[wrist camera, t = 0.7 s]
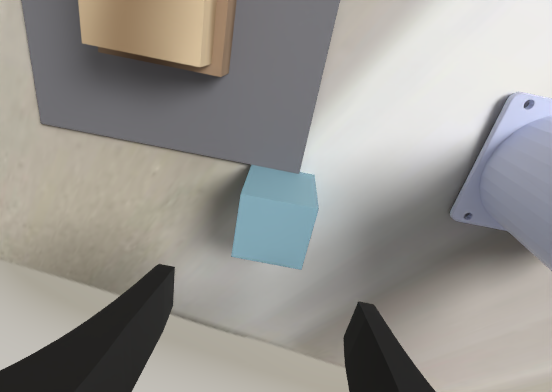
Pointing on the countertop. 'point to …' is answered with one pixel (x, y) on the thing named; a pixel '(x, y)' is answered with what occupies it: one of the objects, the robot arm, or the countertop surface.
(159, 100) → the mat
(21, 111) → the countertop surface
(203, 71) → the tower base
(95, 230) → the countertop surface
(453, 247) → the countertop surface
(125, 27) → the tower mid
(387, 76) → the countertop surface
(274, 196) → the block
